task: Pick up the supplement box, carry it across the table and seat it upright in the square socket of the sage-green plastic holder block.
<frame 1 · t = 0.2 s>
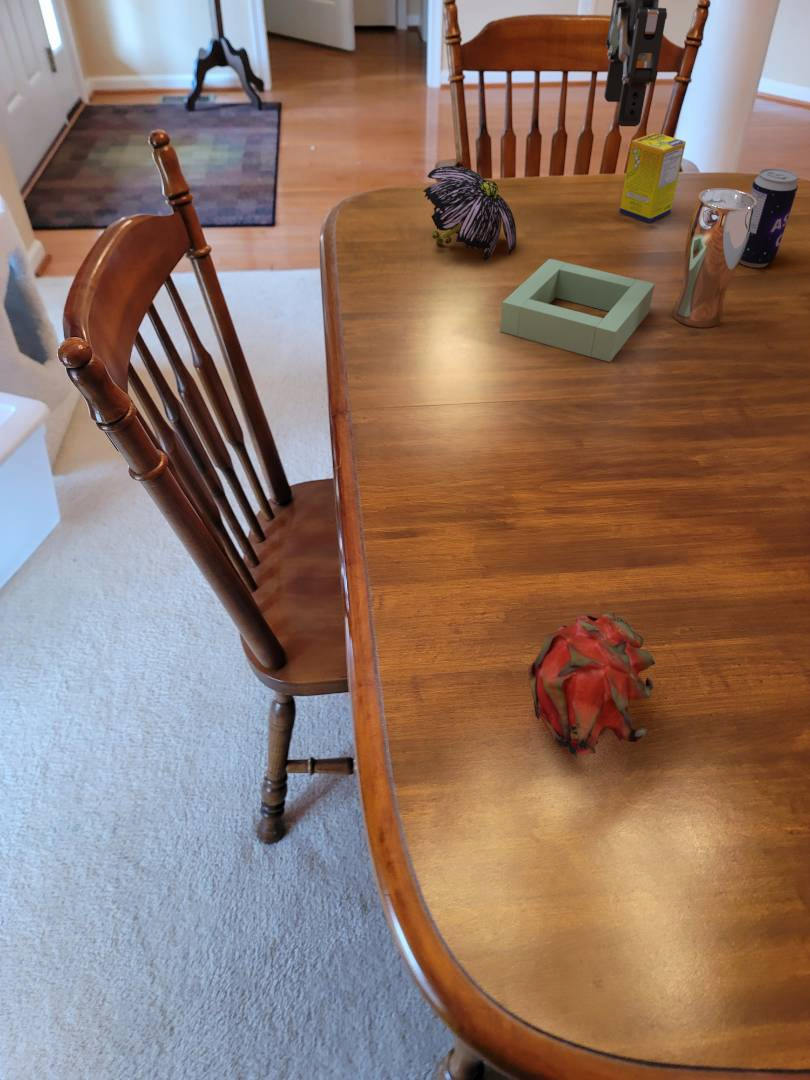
hand: (620, 112, 87), 25 cm above the table, tool pointing down, fingers open, 8 cm apart
decorative flower: (468, 249, 122), on the table
dragon fruit: (582, 715, 62), on the table
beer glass: (696, 318, 107), on the table
socket: (575, 322, 106), on the table
beverage can: (752, 262, 119), on the table
supplement box: (644, 214, 132), on the table
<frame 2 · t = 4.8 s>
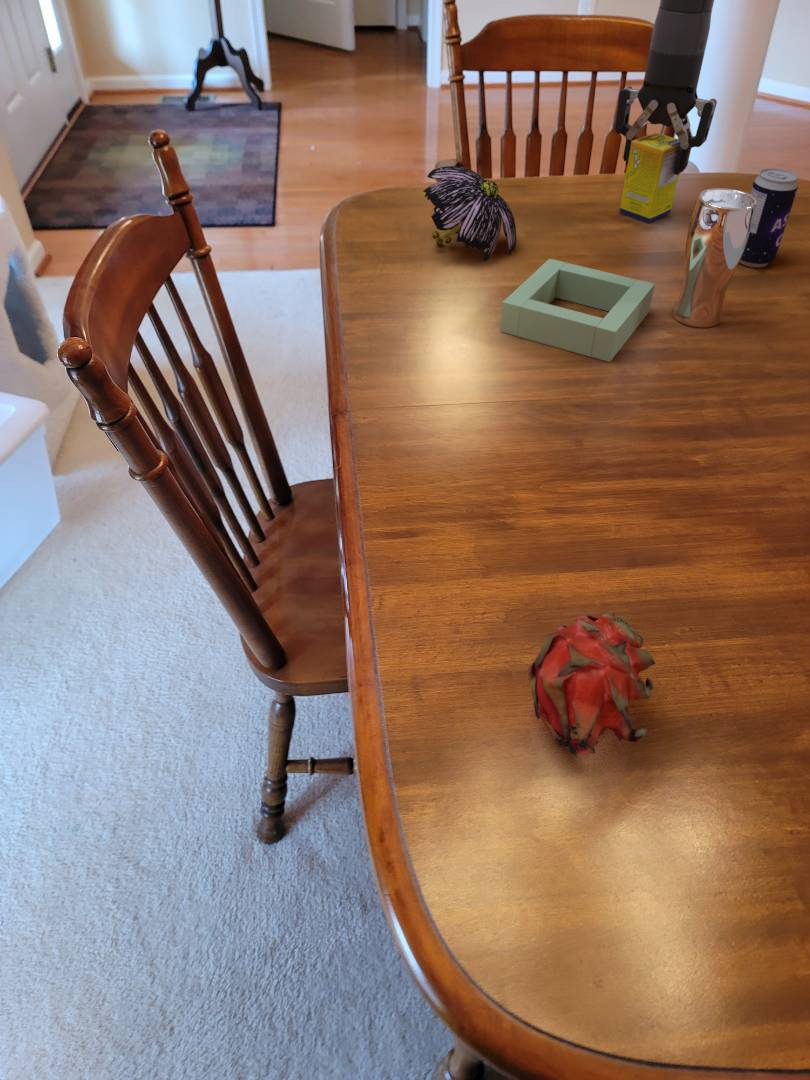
hand: (653, 168, 127), 7 cm above the table, tool pointing down, fingers closed on supplement box, 7 cm apart
supplement box: (644, 214, 132), on the table, touching gripper
everything else where it was.
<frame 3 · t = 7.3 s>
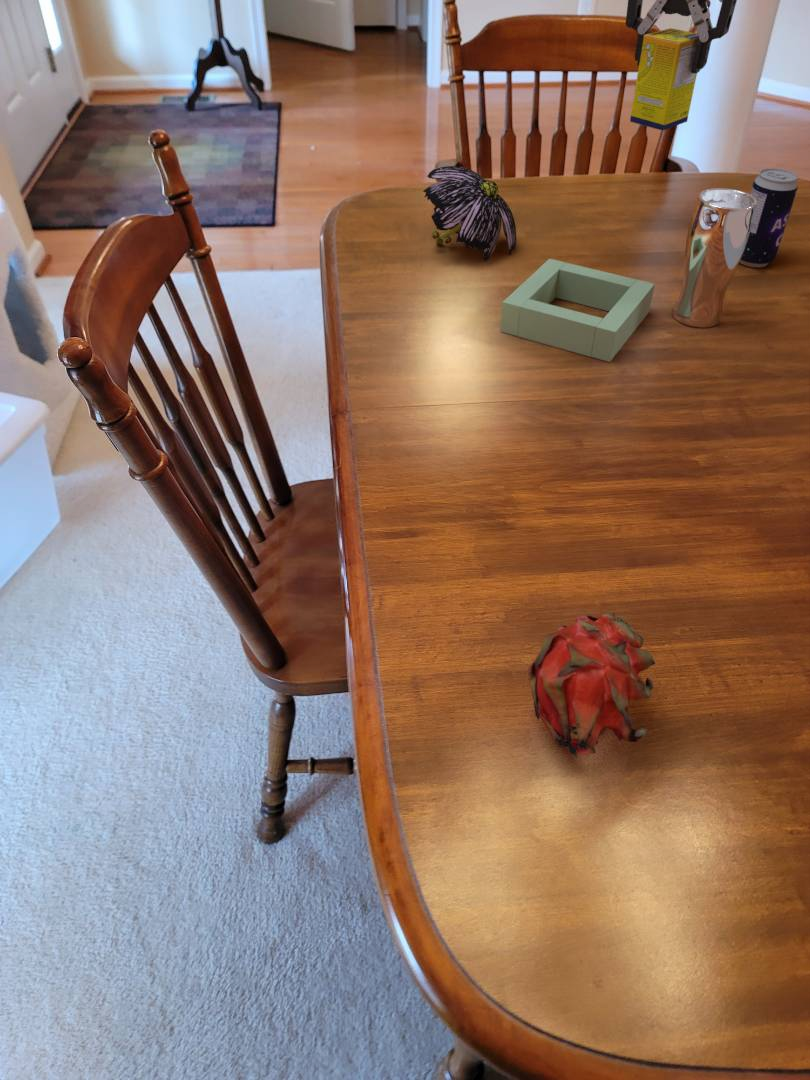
hand: (668, 68, 114), 22 cm above the table, tool pointing down, fingers closed on supplement box, 7 cm apart
supplement box: (657, 123, 119), point 15 cm above the table, touching gripper
everything else where it was.
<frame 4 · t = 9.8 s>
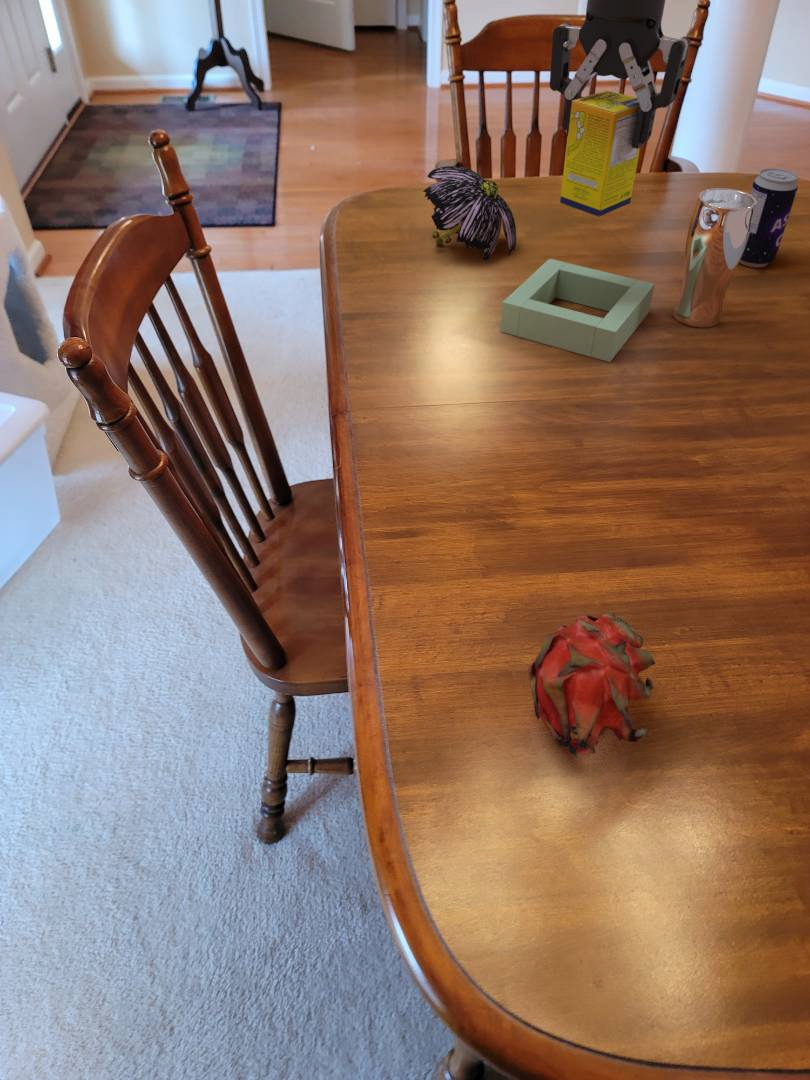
hand: (604, 140, 91), 22 cm above the table, tool pointing down, fingers closed on supplement box, 7 cm apart
supplement box: (594, 205, 96), point 15 cm above the table, touching gripper
everything else where it was.
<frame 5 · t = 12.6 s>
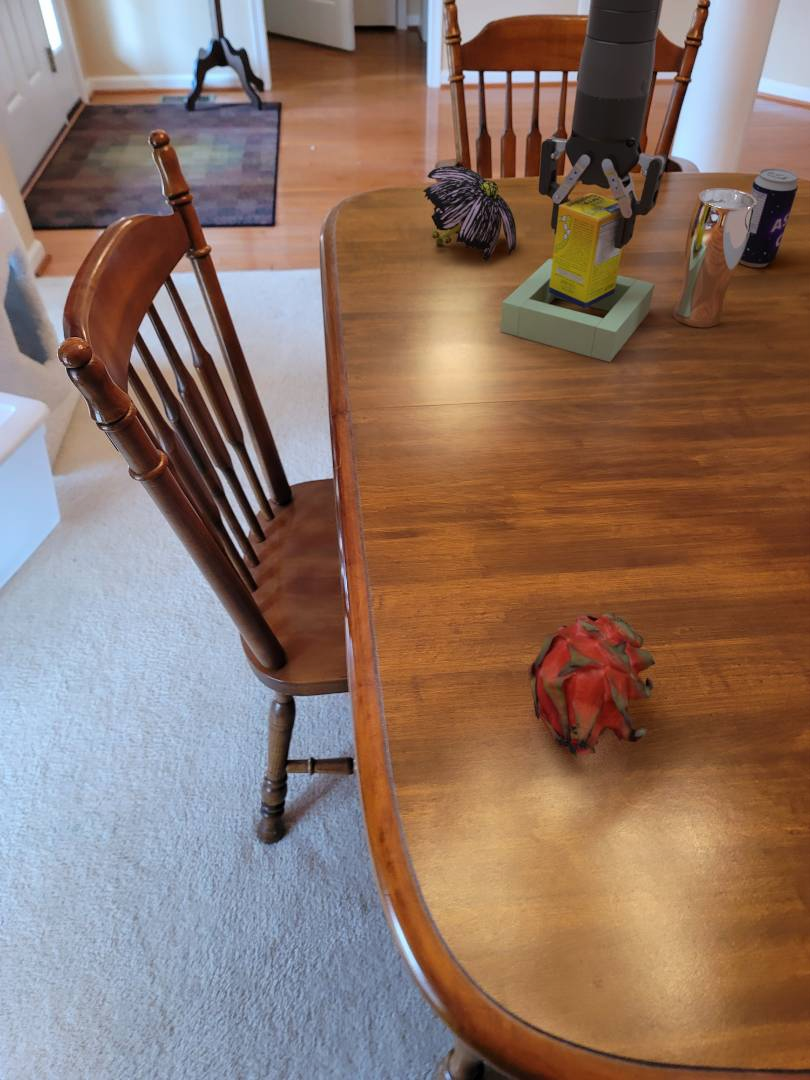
hand: (589, 239, 99), 11 cm above the table, tool pointing down, fingers closed on supplement box, 7 cm apart
supplement box: (580, 295, 103), point 4 cm above the table, touching gripper
everything else where it was.
when the fingers open (7 cm above the table, at t = 14.9 s): supplement box stays where it is, resting in socket.
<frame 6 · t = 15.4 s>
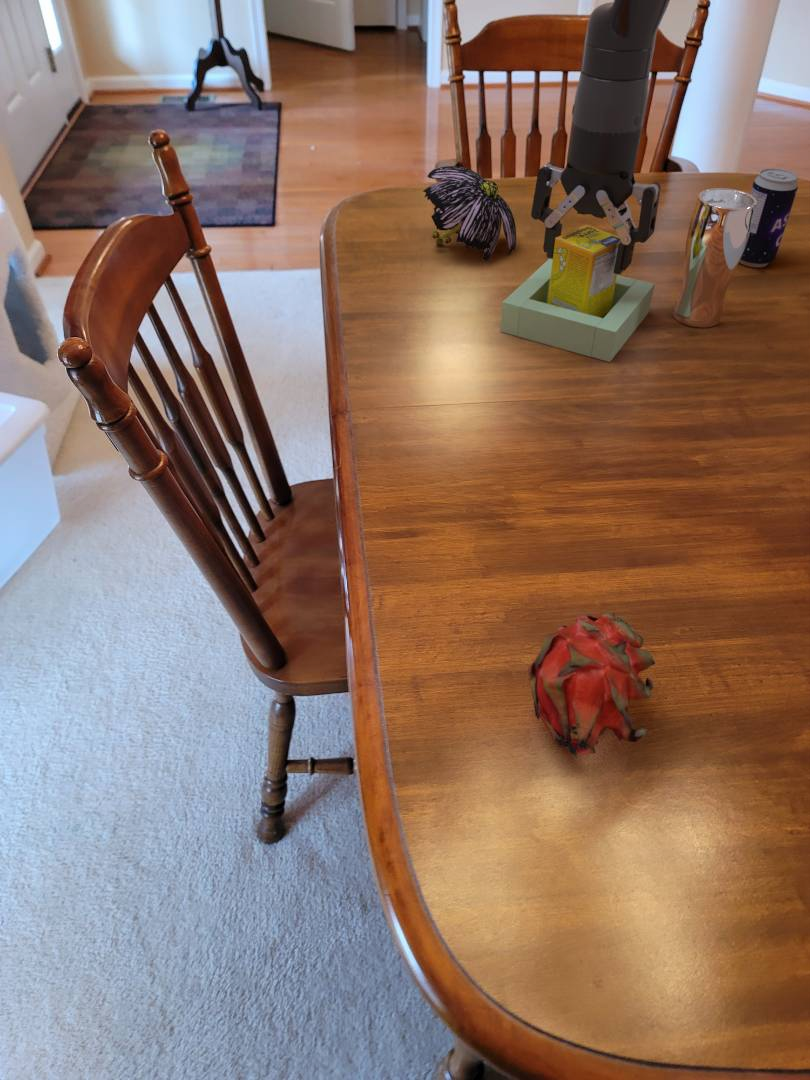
hand: (584, 263, 101), 8 cm above the table, tool pointing down, fingers open, 8 cm apart
supplement box: (576, 323, 106), resting in socket
everything else where it was.
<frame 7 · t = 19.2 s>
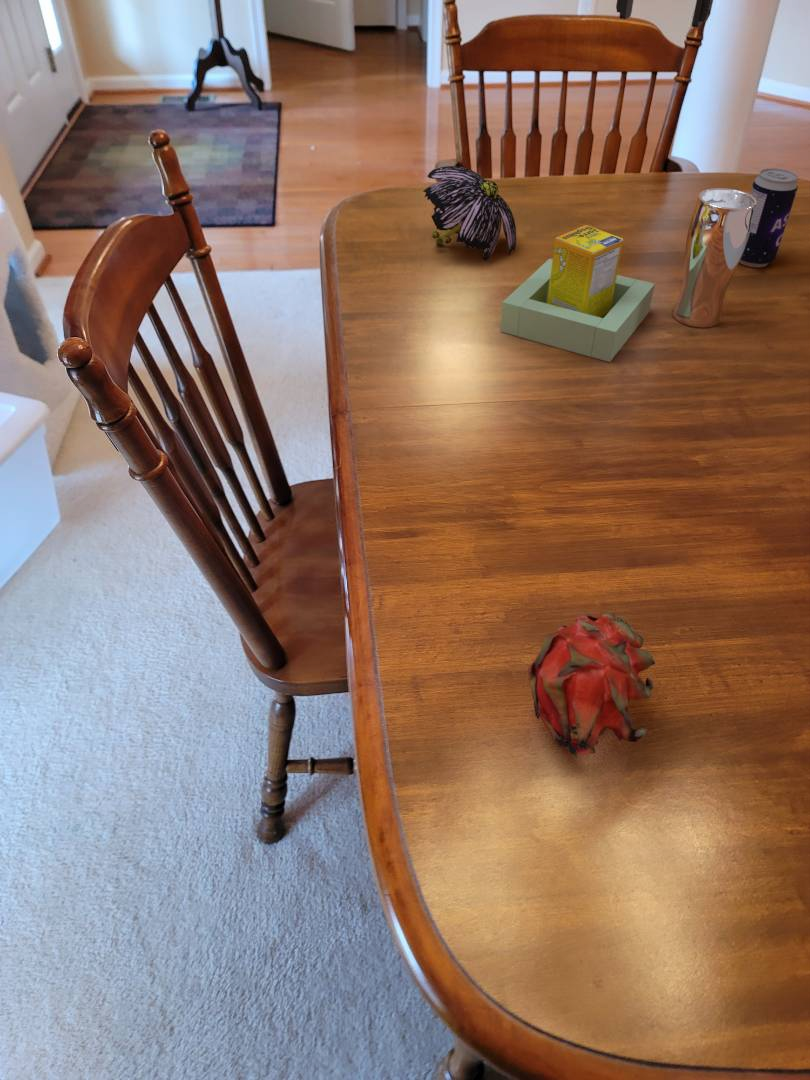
hand: (660, 21, 97), 30 cm above the table, tool pointing down, fingers open, 8 cm apart
nothing on the table moved.
at the end: supplement box 0.1 cm off-centre in the socket, point 0.0 cm above the socket's base; supplement box tilted 0° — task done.
